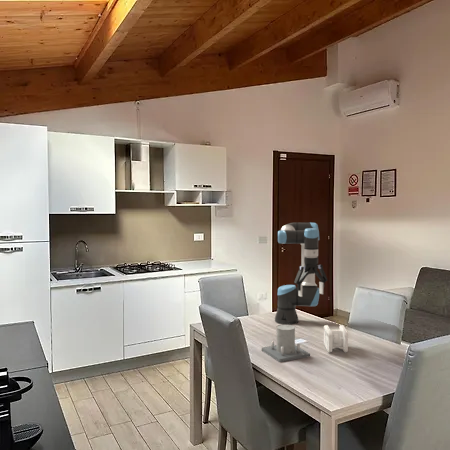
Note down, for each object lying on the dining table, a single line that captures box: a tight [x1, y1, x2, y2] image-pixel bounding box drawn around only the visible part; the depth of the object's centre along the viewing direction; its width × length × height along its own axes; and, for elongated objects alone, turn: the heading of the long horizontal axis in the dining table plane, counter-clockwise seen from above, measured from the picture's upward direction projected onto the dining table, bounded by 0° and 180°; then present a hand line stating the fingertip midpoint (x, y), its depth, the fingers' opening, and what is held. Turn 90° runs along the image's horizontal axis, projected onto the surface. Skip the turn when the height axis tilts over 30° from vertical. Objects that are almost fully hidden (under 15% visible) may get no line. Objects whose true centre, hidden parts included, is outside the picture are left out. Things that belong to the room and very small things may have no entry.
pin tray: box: [261, 340, 311, 363], centre depth 223 cm, size 18×18×6 cm
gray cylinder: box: [275, 324, 296, 354], centre depth 223 cm, size 10×10×12 cm
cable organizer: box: [323, 324, 349, 353], centre depth 229 cm, size 15×11×12 cm
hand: (310, 295), depth 238 cm, fingers open, 13 cm apart
